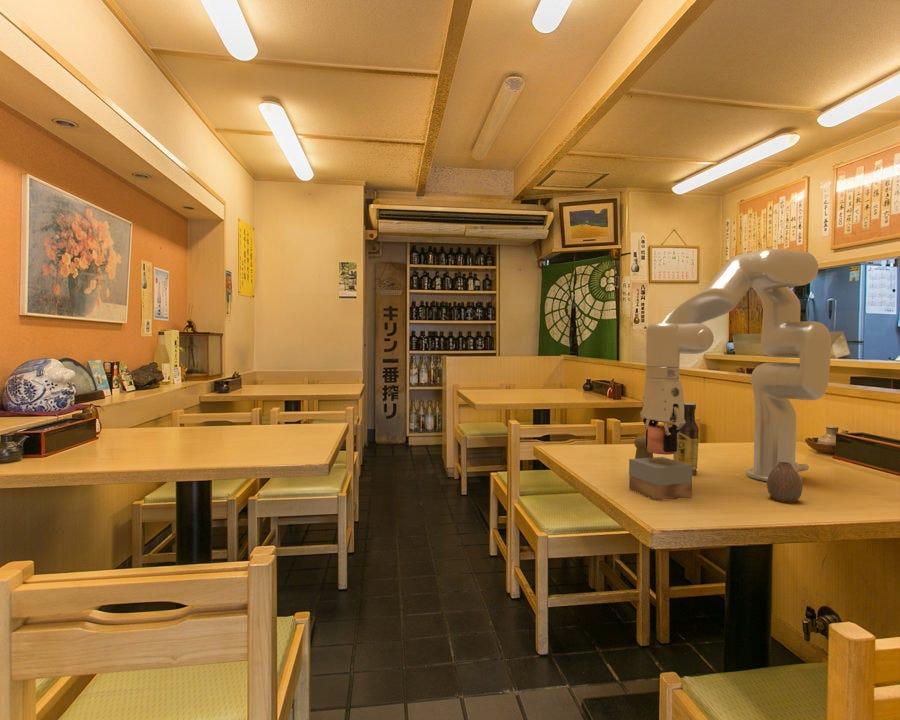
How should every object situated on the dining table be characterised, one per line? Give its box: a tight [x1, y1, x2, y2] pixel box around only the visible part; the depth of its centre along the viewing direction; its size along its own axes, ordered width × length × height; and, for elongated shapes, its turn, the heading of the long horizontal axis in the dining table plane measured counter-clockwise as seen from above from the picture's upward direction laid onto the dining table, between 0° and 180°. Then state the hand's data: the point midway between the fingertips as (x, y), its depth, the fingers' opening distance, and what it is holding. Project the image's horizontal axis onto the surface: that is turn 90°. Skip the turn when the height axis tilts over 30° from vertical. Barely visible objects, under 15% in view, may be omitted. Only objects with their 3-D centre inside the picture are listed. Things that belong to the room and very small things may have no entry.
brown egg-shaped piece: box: [766, 462, 804, 503], centre depth 116 cm, size 7×7×9 cm
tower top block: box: [628, 456, 693, 486], centre depth 121 cm, size 10×10×4 cm
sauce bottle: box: [672, 402, 700, 476], centre depth 141 cm, size 7×6×20 cm
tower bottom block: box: [628, 474, 693, 501], centre depth 121 cm, size 10×10×4 cm
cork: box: [634, 435, 654, 459], centre depth 137 cm, size 6×6×11 cm
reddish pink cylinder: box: [647, 424, 674, 456], centre depth 121 cm, size 6×6×6 cm
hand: (660, 448), depth 121 cm, fingers closed on reddish pink cylinder, 6 cm apart
